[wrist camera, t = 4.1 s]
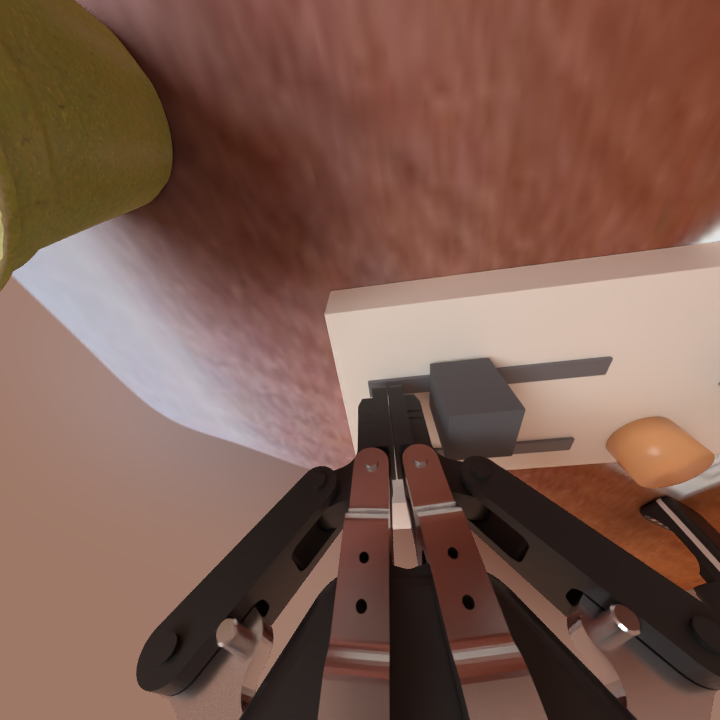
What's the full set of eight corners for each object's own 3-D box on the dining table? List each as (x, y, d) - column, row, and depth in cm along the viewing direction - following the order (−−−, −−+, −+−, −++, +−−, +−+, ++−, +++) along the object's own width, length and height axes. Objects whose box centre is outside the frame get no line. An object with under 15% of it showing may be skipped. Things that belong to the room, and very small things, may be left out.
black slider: (430, 363, 13) (449, 416, 10) (488, 357, 13) (525, 409, 10) (429, 405, 15) (446, 461, 12) (481, 400, 15) (511, 456, 12)
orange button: (619, 419, 16) (653, 451, 14) (686, 413, 15) (730, 445, 14) (597, 457, 18) (624, 490, 16) (656, 453, 17) (690, 485, 16)
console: (330, 291, 15) (318, 336, 10) (926, 214, 12) (1210, 233, 8) (361, 446, 22) (361, 509, 18) (741, 414, 20) (843, 477, 16)
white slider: (378, 447, 17) (382, 504, 14) (424, 443, 17) (438, 500, 14) (382, 473, 18) (386, 529, 15) (424, 470, 18) (436, 526, 15)
